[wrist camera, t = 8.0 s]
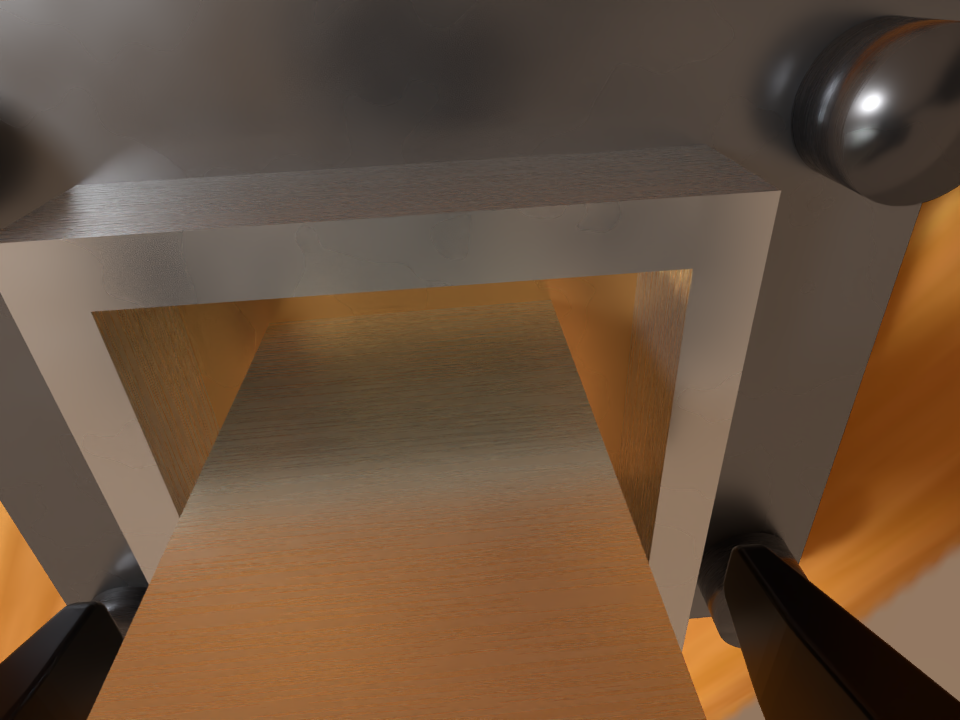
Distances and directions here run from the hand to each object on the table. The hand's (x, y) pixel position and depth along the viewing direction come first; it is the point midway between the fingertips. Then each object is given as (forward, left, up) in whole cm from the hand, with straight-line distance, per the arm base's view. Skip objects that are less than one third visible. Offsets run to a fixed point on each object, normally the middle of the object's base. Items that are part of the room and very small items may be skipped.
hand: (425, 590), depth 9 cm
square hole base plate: (0, 0, -6) cm, 6 cm away
